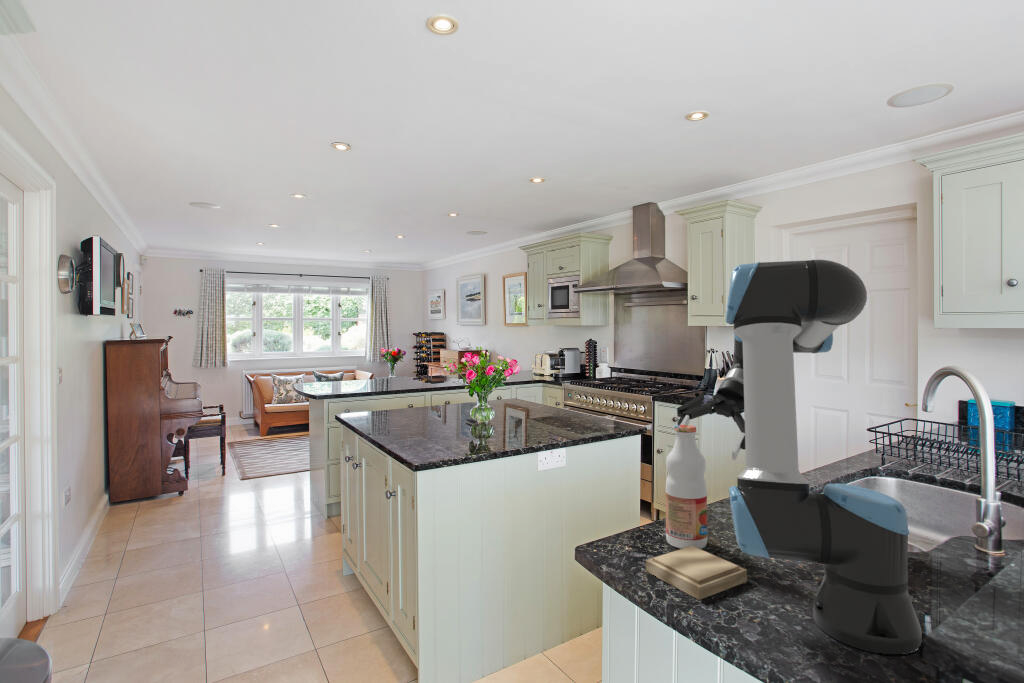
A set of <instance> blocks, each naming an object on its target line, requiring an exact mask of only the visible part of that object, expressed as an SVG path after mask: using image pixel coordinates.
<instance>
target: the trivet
mask: <svg viewBox="0 0 1024 683" xmlns="http://www.w3.org/2000/svg"><path fill="white" fill-rule="evenodd" d="M645 572H646V573H648V574H650V575H652V576H653V575H654V576H653V577H655V576H656V577H655V578H657V579H660V580H661V581H663V582H664V583H667V584H669V585H670V586H673V587H674V588H676V589H677V590H680V592H681V591H682V592H683V593H684V594H685V593H686V594H688V595H689V596H691V597H693V598H695V599H697V600H698V601H700V600H703V599H705V598H709V597H710V596H713V595H716V594H718V593H721V592H724V591H727V590H729V589H731V588H734V587H737V586H739V585H742V584H744V583H747V582H748V569H747V568H744V567H742V566H740V565H738V564H735V563H733V562H731V561H729V560H726V559H724V558H721V557H720V556H717V555H715V554H712V553H710V552H708V551H706V550H703V549H698V548H696V547H694V546H690V547H686V548H683V549H680V548H679V549H677V550H674V551H670V552H667V553H664V554H661V555H657V556H654V557H650V558H647V559H645Z"/></svg>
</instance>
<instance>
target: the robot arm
mask: <svg viewBox="0 0 1024 683" xmlns="http://www.w3.org/2000/svg"><path fill="white" fill-rule="evenodd" d="M867 295H868V292H867V287H866V286H865V284H864V282H863V280H862V278H861V277H860V276H859V275H858V274H857V273H856V272H855V271H854V270H852V269H851V268H849V267H847V266H846V265H844V264H841V263H839V262H835V261H832V260H827V259H810V260H808V259H807V260H786V261H785V260H784V261H769V262H767V261H765V262H760V261H757V262H753V263H746V264H745V263H744V264H739V265H737V266H735V267H734V268H733V269H732V271H731V276H730V284H729V290H728V297H727V304H726V314H725V322H726V323H727V324H728V325H733V333H734V336H733V337H734V338H733V340H734V342H733V343H734V345H733V346H734V347H733V362H732V364H731V367H730V368H729V370H728V372H727V373H726V375H725V377H724V379H723V380H722V382H721V384H720V386H719V387H718V389H717V390H716V393H715V394H714V395H710V394H707V391H704V390H703V391H701V393H699V395H698V396H696V397H694V398H693V399H690V400H689V401H687V402H685V403H683V404H682V405H680V406H679V407H677V408H676V409H677V410H676V417H677V418H679V419H678V421H677V425H690V421H691V420H693V419H696V418H700V417H703V416H706V415H712V414H715V413H716V415H720V416H723V417H726V418H731V419H732V421H734V423H735V424H736V425H737V427H738V429H739V431H740V435H739V437H738V439H737V440H736V441H737V442H736V444H735V445H734V447H733V448H732V449H733V450H732V451H731V452H732V453H731V459H732V460H733V461H736V459H737V458H738V456H739V454H740V452H741V450H745V468H744V469H743V471H741V473H739V475H737V476H736V478H737V484H736V485H732V486H730V487H729V488H728V495H729V501H730V503H729V504H730V510H731V511H730V512H731V518H732V523H733V528H734V533H735V539H736V543H737V546H738V547H739V550H740V551H742V552H743V553H744V554H746V555H749V556H755V557H758V558H759V557H760V558H765V559H767V560H771V559H774V560H775V559H776V560H785V561H793V562H803V563H808V564H809V563H811V564H819V565H824V576H823V578H822V581H821V583H820V585H819V589H818V591H817V593H816V596H815V599H814V601H813V605H812V606H813V608H812V609H813V612H812V614H813V616H812V617H813V621H814V623H815V624H816V625H817V627H818V628H819V629H820V630H821V631H823V632H824V633H825V634H826V635H828V636H830V637H831V638H833V639H834V640H837V641H838V642H840V643H843V644H845V645H848V646H850V647H853V648H856V649H858V650H862V651H867V652H869V651H870V653H873V652H874V654H879V653H882V654H881V655H886V654H903V653H908V652H911V651H914V650H915V649H917V648H918V647H919V646H920V645H921V643H922V644H923V642H922V641H923V640H922V639H923V635H922V634H923V633H922V631H923V630H922V627H921V624H920V620H919V619H918V616H917V613H916V610H915V608H914V606H913V603H912V602H913V601H912V599H911V597H910V594H909V588H908V587H909V582H908V581H909V577H908V576H909V574H908V573H909V572H908V571H909V570H908V569H909V566H908V565H909V564H908V562H909V560H908V559H909V558H908V557H909V551H908V550H909V548H908V547H909V536H908V535H910V530H909V524H908V515H907V514H908V513H907V510H906V508H905V507H904V505H903V503H901V502H900V501H898V500H897V499H896V498H894V497H891V495H890V496H889V495H887V494H885V493H882V492H880V491H876V490H874V489H870V488H865V487H863V486H858V485H852V484H847V483H845V484H844V483H838V482H837V483H827V484H826V485H824V487H823V489H822V493H819V492H810V491H811V490H810V481H809V480H808V479H807V478H806V477H805V476H804V475H803V474H802V473H801V472H800V470H799V469H800V468H799V449H798V448H799V447H798V430H797V427H798V425H797V423H798V422H797V409H796V408H797V406H796V405H797V403H796V384H795V383H796V382H795V381H796V380H795V364H794V363H795V362H794V353H795V354H797V353H798V354H799V353H802V354H805V353H806V354H809V353H810V354H818V353H829V352H830V351H831V349H832V346H833V341H834V334H833V333H834V332H835V331H836V330H838V328H839V327H840V326H843V325H846V324H848V323H851V322H852V321H854V320H855V319H856V318H857V317H858V316H859V315H860V314H861V313H862V312H863V310H864V308H865V306H866V303H867V299H868V296H867ZM743 413H744V417H743V415H742V414H743ZM921 646H922V645H921ZM883 653H884V654H883Z"/></svg>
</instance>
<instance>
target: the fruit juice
mask: <svg viewBox="0 0 1024 683" xmlns="http://www.w3.org/2000/svg"><path fill="white" fill-rule="evenodd" d="M674 433H675V441H674V445H673V446H672V449H671V450H670V452H668V454H667V455H666V459H665V467H666V470H667V476H666V481H665V490H664V491H665V537H666V542H667V543H668V544H669V545H670V546H672V547H674V548H677V549H679V550H680V549H683V548H686V547H690V546H694V547H696V548H698V549H701V550H703V549H704V548H705V547H707V544H708V489H707V488H708V487H707V482H706V479H705V472H706V468H707V462H706V459H705V457H704V455H703V454H702V453H701V452H700V450H699V448H698V446H697V443H696V435H697V427H696V426H695V425H691V424H688V425H678V424H677V425H675V426H674Z"/></svg>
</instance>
